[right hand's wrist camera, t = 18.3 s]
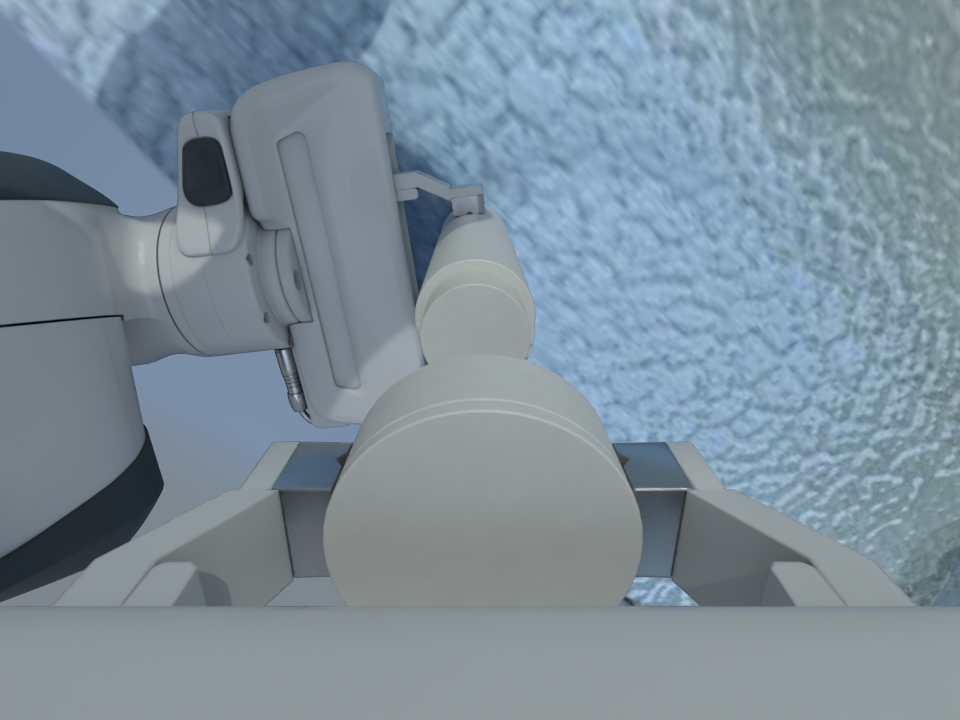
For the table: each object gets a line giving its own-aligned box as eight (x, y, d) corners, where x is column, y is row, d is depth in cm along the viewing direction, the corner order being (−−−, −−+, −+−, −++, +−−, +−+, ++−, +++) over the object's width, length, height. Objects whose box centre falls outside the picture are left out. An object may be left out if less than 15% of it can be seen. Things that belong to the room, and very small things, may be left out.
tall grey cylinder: (442, 267, 36) (411, 399, 18) (440, 202, 35) (404, 272, 16) (505, 267, 36) (539, 398, 18) (507, 202, 35) (545, 271, 16)
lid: (661, 420, 10) (707, 492, 8) (534, 603, 12) (545, 700, 10) (416, 306, 9) (397, 353, 7) (317, 520, 11) (278, 608, 9)
